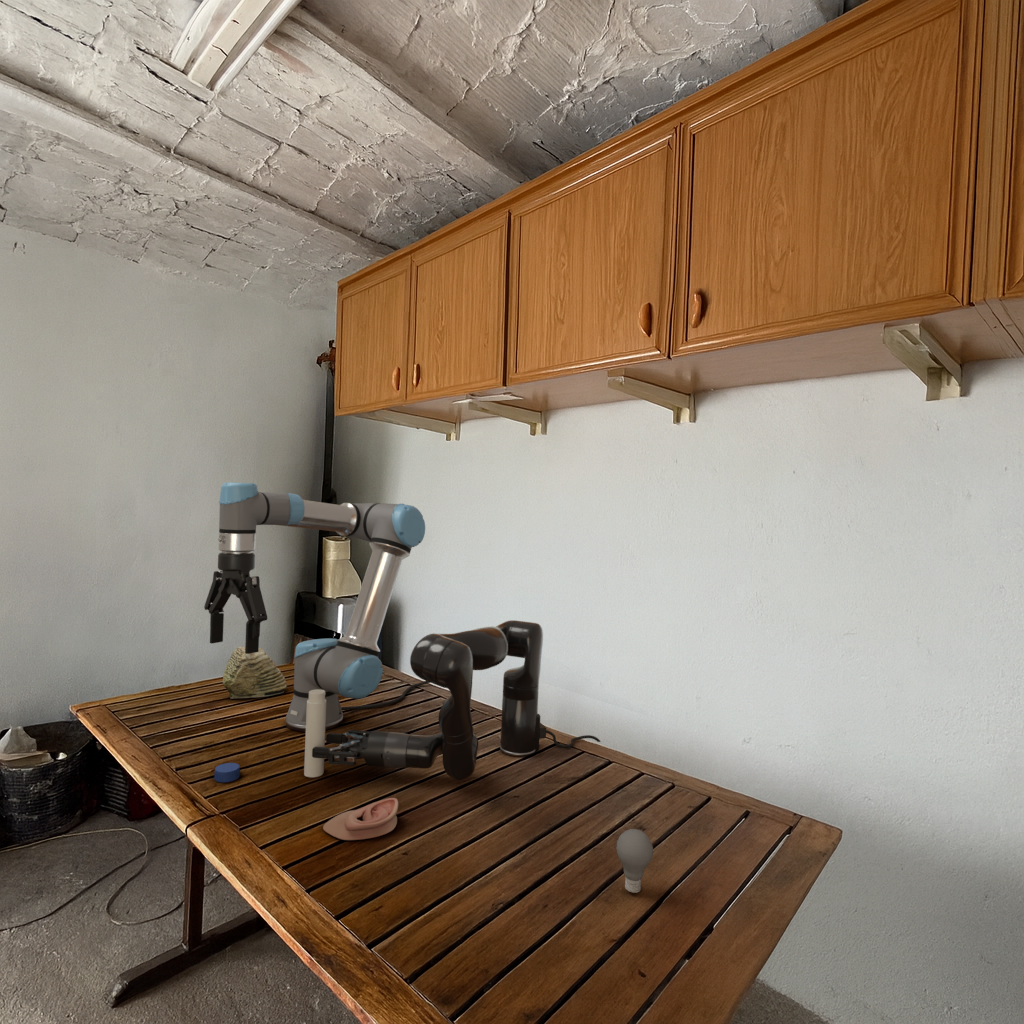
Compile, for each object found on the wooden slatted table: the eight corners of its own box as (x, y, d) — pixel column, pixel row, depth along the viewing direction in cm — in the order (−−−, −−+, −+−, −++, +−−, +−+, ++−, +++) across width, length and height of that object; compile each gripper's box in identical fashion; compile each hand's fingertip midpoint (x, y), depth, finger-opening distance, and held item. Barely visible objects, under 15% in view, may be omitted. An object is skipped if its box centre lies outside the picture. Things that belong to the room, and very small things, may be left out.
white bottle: (327, 772, 146) (330, 690, 145) (314, 779, 142) (317, 695, 142) (313, 767, 148) (316, 687, 147) (299, 774, 144) (303, 692, 143)
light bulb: (610, 879, 108) (613, 822, 108) (644, 879, 109) (647, 822, 109) (619, 902, 102) (622, 840, 102) (655, 901, 103) (658, 840, 103)
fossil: (218, 695, 195) (220, 647, 195) (278, 685, 208) (279, 640, 207) (228, 703, 189) (230, 653, 188) (289, 692, 201) (290, 645, 201)
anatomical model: (315, 814, 118) (343, 787, 129) (314, 835, 118) (343, 807, 129) (382, 825, 115) (405, 796, 127) (381, 846, 116) (404, 816, 127)
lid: (222, 771, 144) (222, 761, 144) (244, 773, 143) (244, 763, 143) (209, 781, 138) (209, 771, 138) (232, 783, 138) (232, 773, 138)
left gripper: (189, 548, 144) (186, 641, 145) (255, 557, 130) (251, 660, 131) (220, 547, 150) (217, 635, 151) (286, 556, 136) (283, 654, 137)
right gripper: (397, 722, 151) (331, 718, 152) (381, 745, 137) (308, 740, 138) (396, 753, 151) (330, 749, 152) (380, 779, 137) (307, 774, 138)
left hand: (233, 647), depth 141 cm, fingers open, 13 cm apart
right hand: (319, 744), depth 145 cm, fingers open, 8 cm apart
